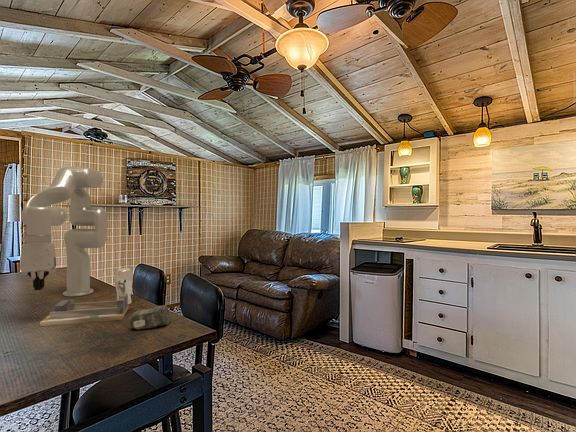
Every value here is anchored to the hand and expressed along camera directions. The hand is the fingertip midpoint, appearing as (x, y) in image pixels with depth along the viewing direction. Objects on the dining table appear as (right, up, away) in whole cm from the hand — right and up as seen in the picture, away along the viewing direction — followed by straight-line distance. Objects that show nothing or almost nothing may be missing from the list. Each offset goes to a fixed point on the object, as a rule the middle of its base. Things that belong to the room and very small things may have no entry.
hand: (38, 289), depth 121 cm
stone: (+44, -12, -5) cm, 46 cm away
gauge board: (+15, -12, +6) cm, 20 cm away
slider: (+8, -10, +1) cm, 13 cm away
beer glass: (+20, -12, +23) cm, 33 cm away
